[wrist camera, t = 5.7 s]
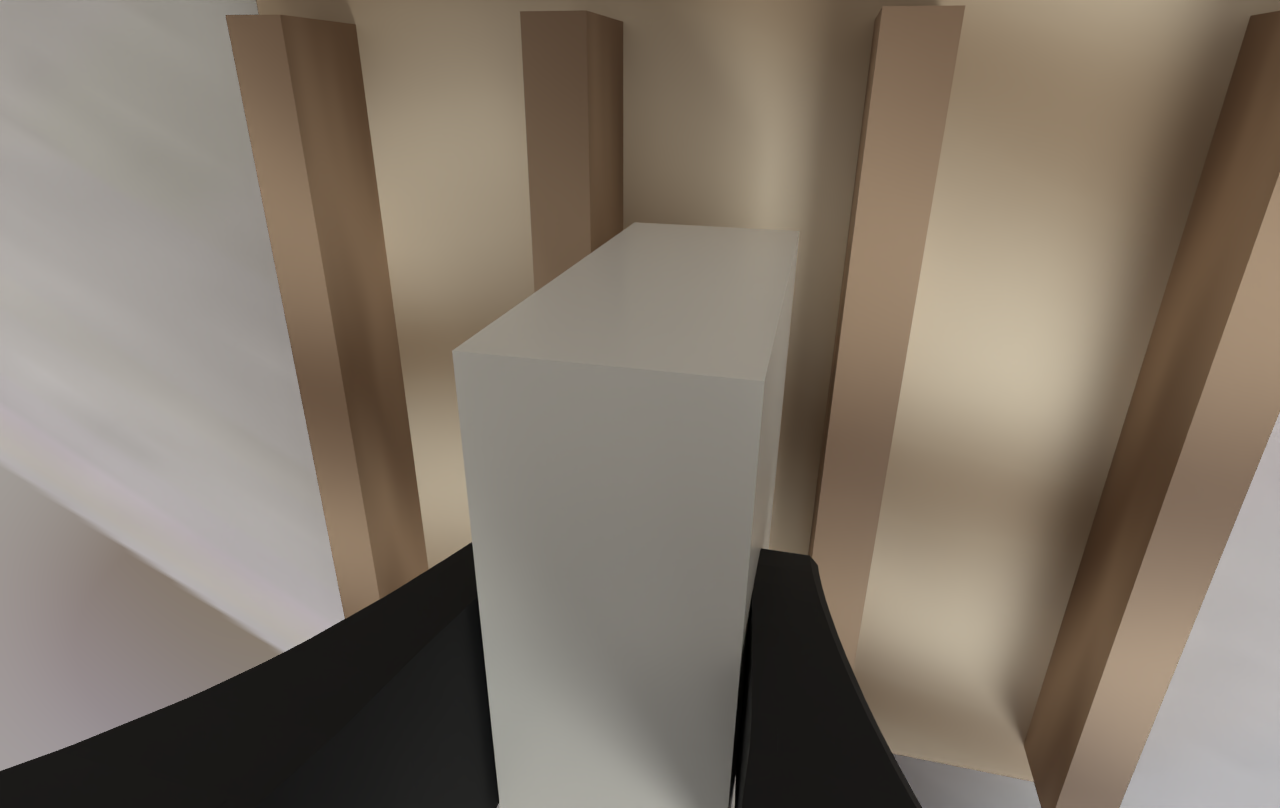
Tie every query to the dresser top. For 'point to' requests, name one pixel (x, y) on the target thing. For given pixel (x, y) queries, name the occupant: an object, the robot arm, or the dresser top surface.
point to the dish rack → (831, 303)
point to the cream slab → (626, 512)
